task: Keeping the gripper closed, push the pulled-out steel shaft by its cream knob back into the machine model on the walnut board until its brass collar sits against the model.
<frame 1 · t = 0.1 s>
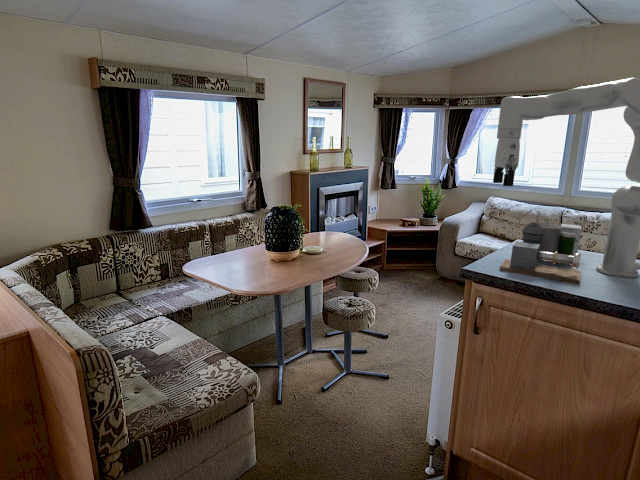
hand: (502, 184, 146), 31 cm above the table, tool pointing down, fingers open, 9 cm apart
supplement box: (565, 255, 173), on the table
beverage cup: (528, 261, 164), on the table
shaft: (550, 256, 146), point 6 cm above the table, slide at 5.0 cm
beer can: (563, 263, 162), on the table
machine model: (522, 269, 152), on the table
pillar candle: (543, 258, 168), on the table
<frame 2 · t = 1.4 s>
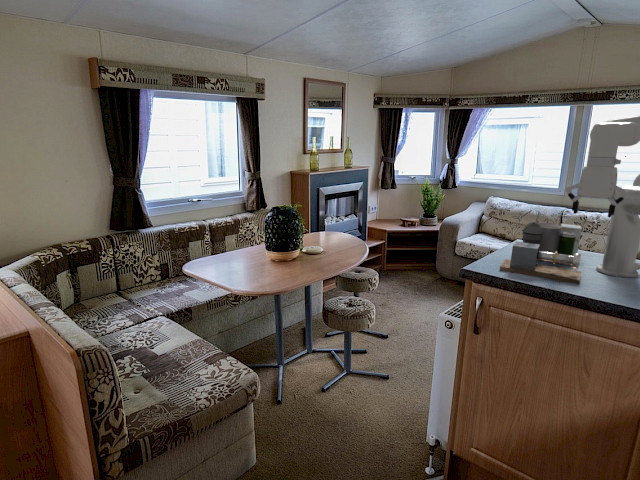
hand: (592, 214, 137), 23 cm above the table, tool pointing down, fingers open, 9 cm apart
nothing on the table moved.
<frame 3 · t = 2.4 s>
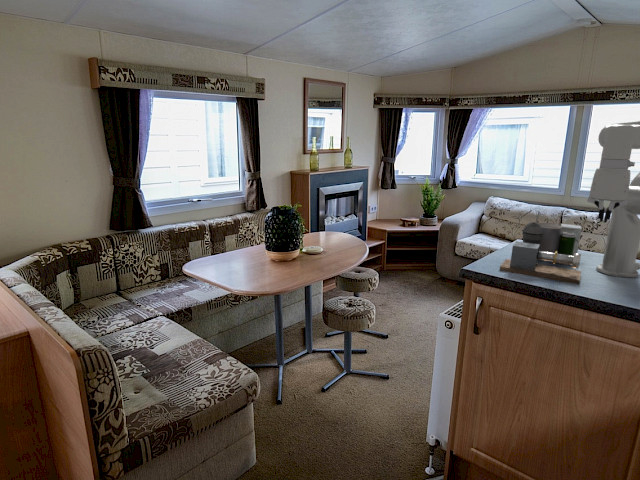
hand: (603, 221, 136), 21 cm above the table, tool pointing down, fingers closed
nothing on the table moved.
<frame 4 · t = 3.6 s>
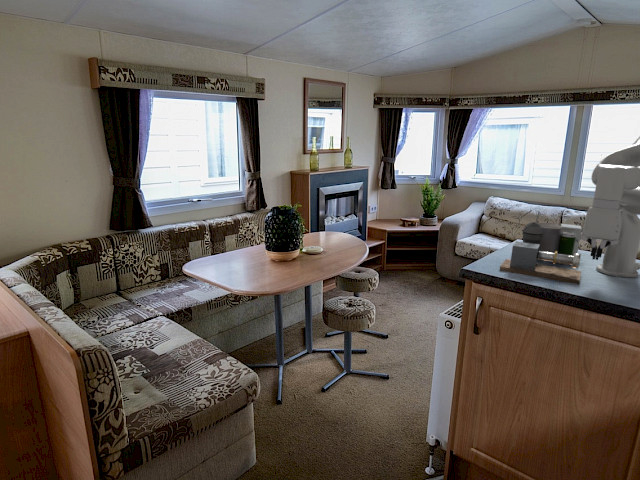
hand: (595, 258, 139), 8 cm above the table, tool pointing down, fingers closed
nothing on the table moved.
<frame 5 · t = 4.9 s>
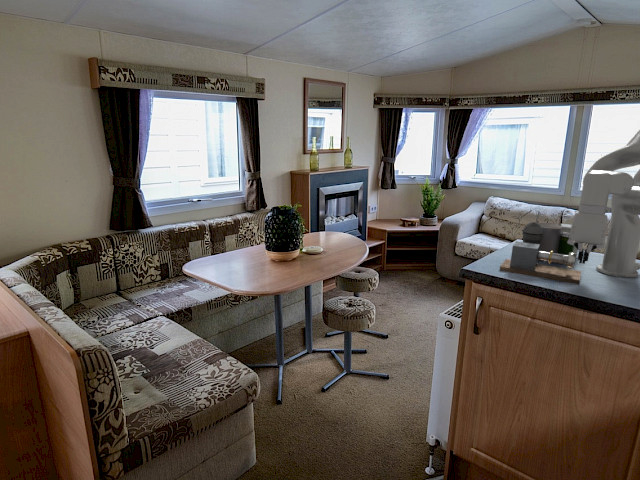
hand: (582, 262, 141), 6 cm above the table, tool pointing down, fingers closed
shaft: (546, 256, 147), point 6 cm above the table, slide at 3.6 cm, touching gripper
everything else where it was.
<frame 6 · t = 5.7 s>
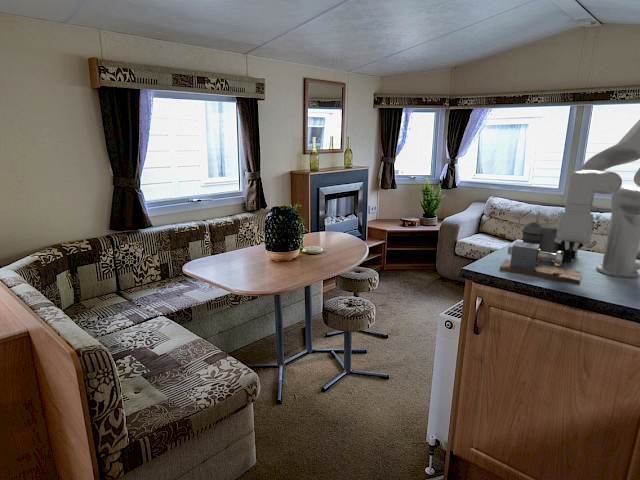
hand: (568, 260, 143), 6 cm above the table, tool pointing down, fingers closed
shaft: (534, 254, 149), point 6 cm above the table, slide at -0.3 cm, touching gripper
everything else where it was.
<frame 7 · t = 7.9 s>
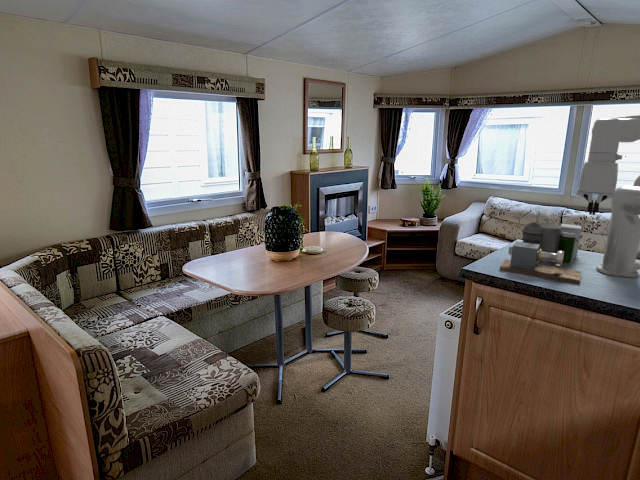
hand: (591, 214, 137), 23 cm above the table, tool pointing down, fingers closed
shaft: (535, 254, 149), point 6 cm above the table, slide at 0.0 cm
everything else where it was.
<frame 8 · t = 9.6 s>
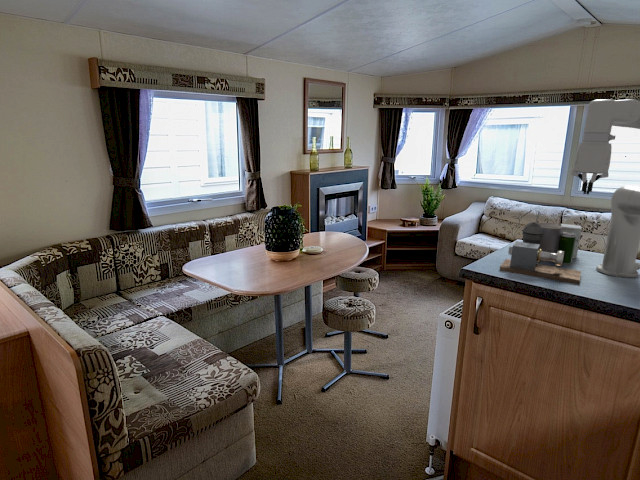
hand: (586, 193, 141), 29 cm above the table, tool pointing down, fingers closed
nothing on the table moved.
at the end: shaft slide at 0.0 cm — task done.
